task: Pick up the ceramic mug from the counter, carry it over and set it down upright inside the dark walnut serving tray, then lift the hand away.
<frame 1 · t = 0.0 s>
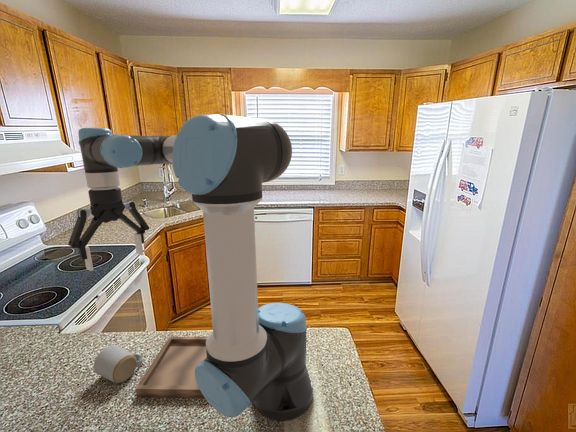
hand: (116, 261, 84), 28 cm above the countertop, tool pointing down, fingers open, 13 cm apart
walnut tray: (190, 367, 82), on the countertop
ceramic mug: (122, 372, 81), on the countertop
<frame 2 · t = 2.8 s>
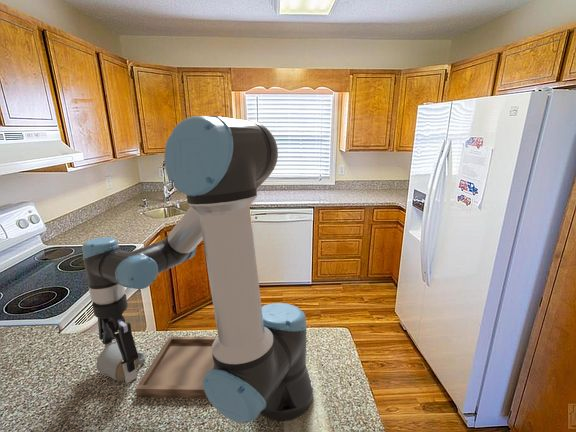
hand: (122, 371, 80), 0 cm above the countertop, tool pointing down, fingers open, 10 cm apart
ceramic mug: (125, 370, 81), on the countertop, touching gripper
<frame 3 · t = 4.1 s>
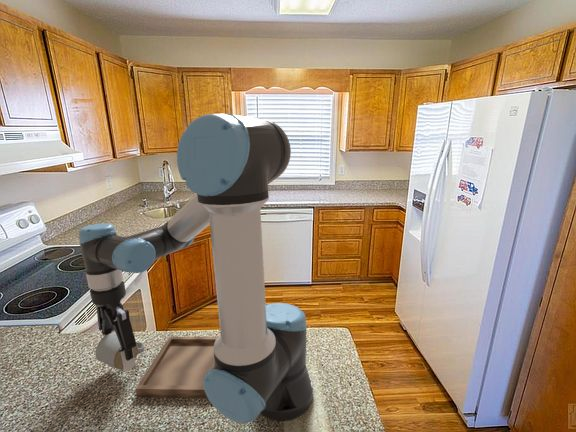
hand: (121, 361, 79), 4 cm above the countertop, tool pointing down, fingers closed on ceramic mug, 9 cm apart
ceramic mug: (124, 359, 81), point 3 cm above the countertop, touching gripper
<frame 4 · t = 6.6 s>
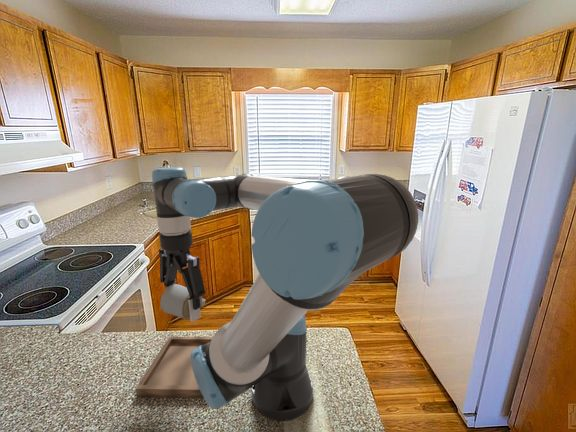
hand: (184, 313, 78), 17 cm above the countertop, tool pointing down, fingers closed on ceramic mug, 9 cm apart
ceramic mug: (186, 312, 79), point 17 cm above the countertop, touching gripper
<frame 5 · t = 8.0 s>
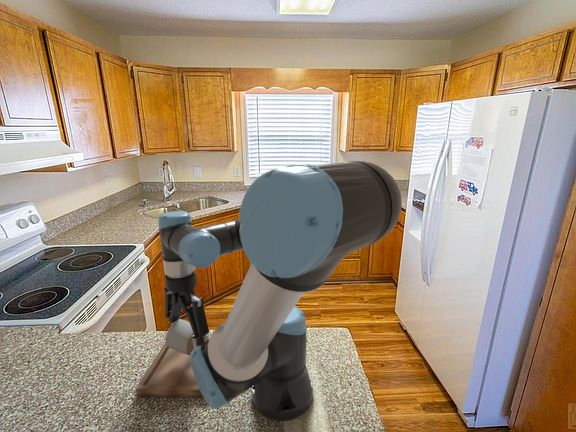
hand: (188, 348, 80), 6 cm above the countertop, tool pointing down, fingers closed on ceramic mug, 9 cm apart
ceramic mug: (190, 346, 82), point 6 cm above the countertop, touching gripper
when the fingers open (2 cm above the countertop, at t = 9.2 s): ceramic mug drops 1 cm, resting on walnut tray.
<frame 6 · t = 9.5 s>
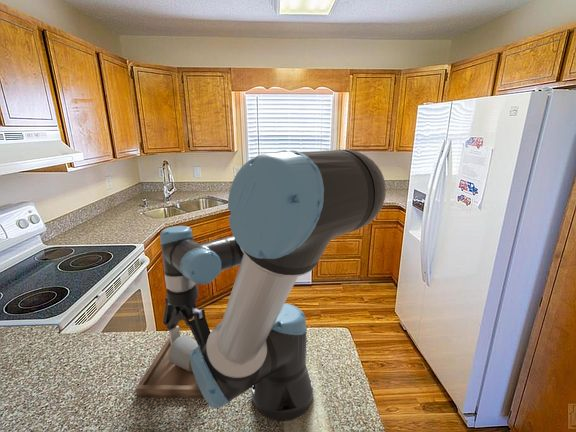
hand: (189, 357, 81), 3 cm above the countertop, tool pointing down, fingers open, 12 cm apart
ceramic mug: (193, 362, 83), point 1 cm above the countertop, touching walnut tray
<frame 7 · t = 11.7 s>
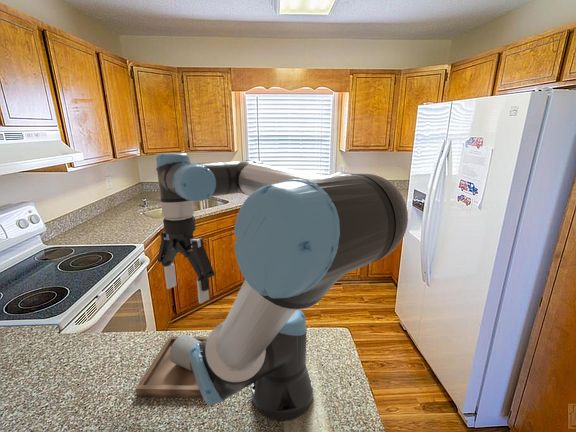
hand: (187, 293, 78), 22 cm above the countertop, tool pointing down, fingers open, 13 cm apart
nothing on the countertop moved.
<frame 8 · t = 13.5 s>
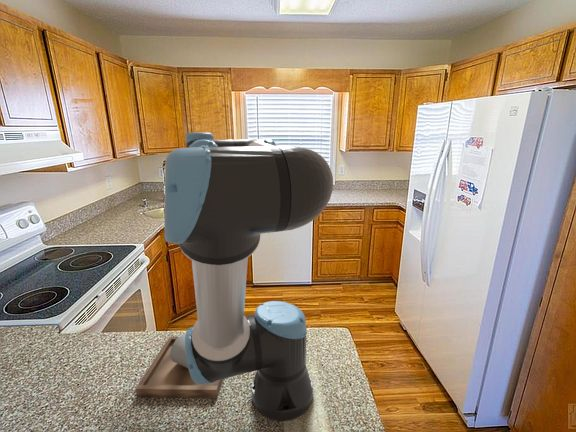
hand: (209, 257, 90), 27 cm above the countertop, tool pointing down, fingers open, 13 cm apart
nothing on the countertop moved.
at the end: ceramic mug inside the target area on the walnut tray (1.7 cm from its centre), point 0.8 cm above the walnut tray's base; ceramic mug tilted 1°; the gripper is holding nothing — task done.
